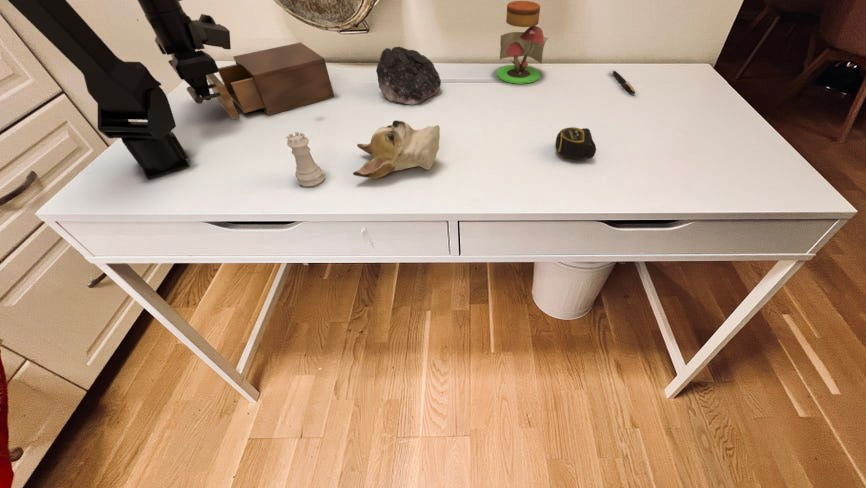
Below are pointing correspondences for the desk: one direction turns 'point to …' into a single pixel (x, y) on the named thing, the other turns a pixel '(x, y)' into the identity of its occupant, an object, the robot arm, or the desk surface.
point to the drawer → (232, 90)
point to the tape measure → (575, 143)
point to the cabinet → (288, 76)
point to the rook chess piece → (304, 161)
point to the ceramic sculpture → (399, 149)
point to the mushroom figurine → (522, 43)
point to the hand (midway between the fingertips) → (208, 99)
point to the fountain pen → (624, 82)
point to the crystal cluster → (407, 76)
